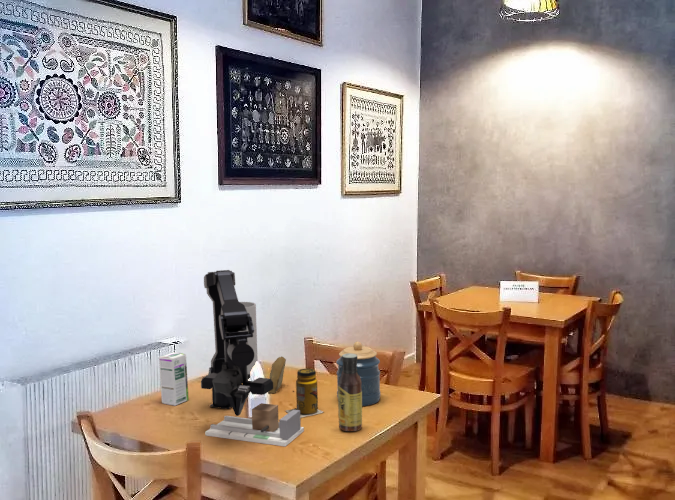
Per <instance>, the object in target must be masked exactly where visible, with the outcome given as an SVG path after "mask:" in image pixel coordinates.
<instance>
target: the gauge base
mask: <svg viewBox="0 0 675 500" xmlns="http://www.w3.org/2000/svg"><path fill="white" fill-rule="evenodd" d="M291 410H292V409H291ZM301 422H302V421H301V418H300V410H292V411H291V412H289V413H288V412H287V413H286V414H285V415H284V416H283V417H281V418H280V419H279V428H278V429H276V430H275V431H274V432H268V431H264V432H261V430H253V429H252V418H248V417H247V418H246V417H240V416H232V415H231V416H230V415H224V416H223V420H221V421H220V422H218V423H216V424H213V423H212V424H210V428H209V429H207V430H206V431H205V432H204V433H205V436H206V437H213V438H214V437H216V438H221V439H229V440H236V441H242V442H249V443H259V444H264V445H272V446H273V445H274V446H279V447H287V446H288V445H289V444H290V443H291V442H292V441H294V440H295V439H296V438H297V437H299V436H300V435H301V434H302V433H303V432H305V428H304V426H302V425H301Z"/></svg>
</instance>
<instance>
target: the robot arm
mask: <svg viewBox="0 0 675 500" xmlns="http://www.w3.org/2000/svg"><path fill="white" fill-rule="evenodd" d="M203 286H204V289H205V290H206V294H207V296H208V297H209V299H210V300H211V302H212V309H213V310H212V312H213V313H212V314H213V329H214V330H213V331H214V346H215V347H214V349H215V353H213V356H212V358H211V359H210V367H209V368H208V373H207V375H205V376H203V377H202V378H201V381H200V388H201V389H203V390H211V397H212V399H211V401H212V403H211V404H209V407H210V408H215V409H223V410H230V409H231V408H232V410H233V413H234V415H235V417H240V416H241V413H242V411H243V408H244V407H245V403H246V401H247V399H248V397H249V395H250V393H251V394H252V395H256V396H257V395H259V396H264V395H266V394H267V393H269V391H270V390H272V389H273V382H272V380H271V379H269V377H268V378H266V377H257V378H256V379H254V380H252V381H248V379H249V378H250V374H248V373H247V366H248V365H249V364H250V363H252V361H253V359H254V351H253V349H252V347H251V346H250V345H249V344H248V341H247V338H249V337H253V333H254V327H253V322H252V318H251V316H250V314H249V313H247V310H246V308H245V305H243V304H242V303H240V302H241V301H239V298H238V294H237V292H236V288H235V287H236V274H235V272H233V271H232V270H230V269H224V270H222V269H221V270H216V271H208V272H207V273H206V274H204V275H203ZM247 328H248V331H246V330H247ZM238 331H242V332H238ZM248 332H249V333H248Z"/></svg>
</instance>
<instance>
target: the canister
mask: <svg viewBox="0 0 675 500" xmlns="http://www.w3.org/2000/svg"><path fill="white" fill-rule="evenodd" d="M348 353H352V354H356V355H357V373H358V375H359V376H360V378H361V389H362V407H364V406H371V405H374V404H377V403H378V402H379V401H380V397H381V387H380V384H381V381H380V380H381V379H380V378H381V377H380V374H381V370H380V369H379V364H380V363H381V361H380V359H379V358H378V357H376V356H377V355H378V352H377V351H376V350H374V349H373V348H371V347H368V346H364V345H363V344H362V342H360V341H356V342H354V343H353V346H348V347H345V348H344V349H343V350H341V351H340V352H339V353H338V356H339V358H338V359H337V360H336V361H335V362H336V364H337V366H338V367H337V371H336V376H337V377H336V378H337V382H336V383H337V387H336V389H338V383H339V380H340V377H341V374H342V370H343V361H342V355H344V354H348ZM336 394H337V395H336V397H337V398H338V390H337V391H336Z"/></svg>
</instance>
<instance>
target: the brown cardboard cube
mask: <svg viewBox="0 0 675 500" xmlns="http://www.w3.org/2000/svg"><path fill="white" fill-rule="evenodd" d="M251 419H252V429H253V430H261V432H264V431H268V432H274V431H275V430H276V429H278V428H279V420H280V419H279V405H278V404H270V403H262V402H261V403H259V404H258V405H256V406H254V407H253V408H251Z"/></svg>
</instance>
